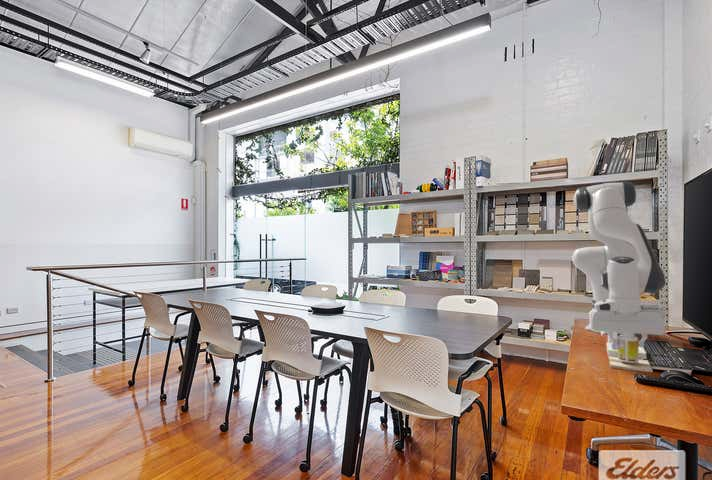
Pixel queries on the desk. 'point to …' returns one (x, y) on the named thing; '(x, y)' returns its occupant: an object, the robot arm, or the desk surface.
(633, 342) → the supplement bottle
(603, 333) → the hat wearing toy figure
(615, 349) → the white rectangular frame
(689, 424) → the desk surface
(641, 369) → the birch board
